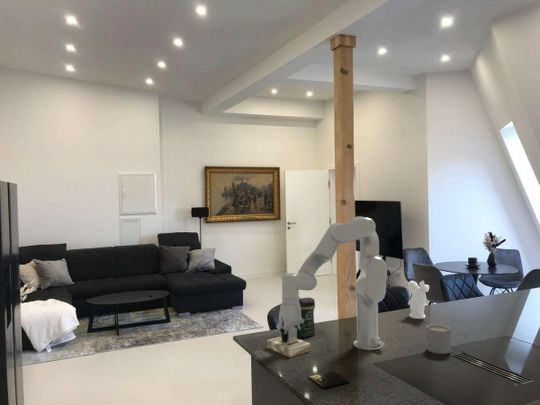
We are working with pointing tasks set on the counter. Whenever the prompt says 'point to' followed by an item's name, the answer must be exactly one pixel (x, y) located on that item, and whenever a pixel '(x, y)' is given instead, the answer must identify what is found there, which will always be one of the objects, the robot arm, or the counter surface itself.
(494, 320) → the counter surface
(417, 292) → the cherub figurine
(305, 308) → the coffee jar
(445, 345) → the coffee mug
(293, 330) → the bracket
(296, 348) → the block
